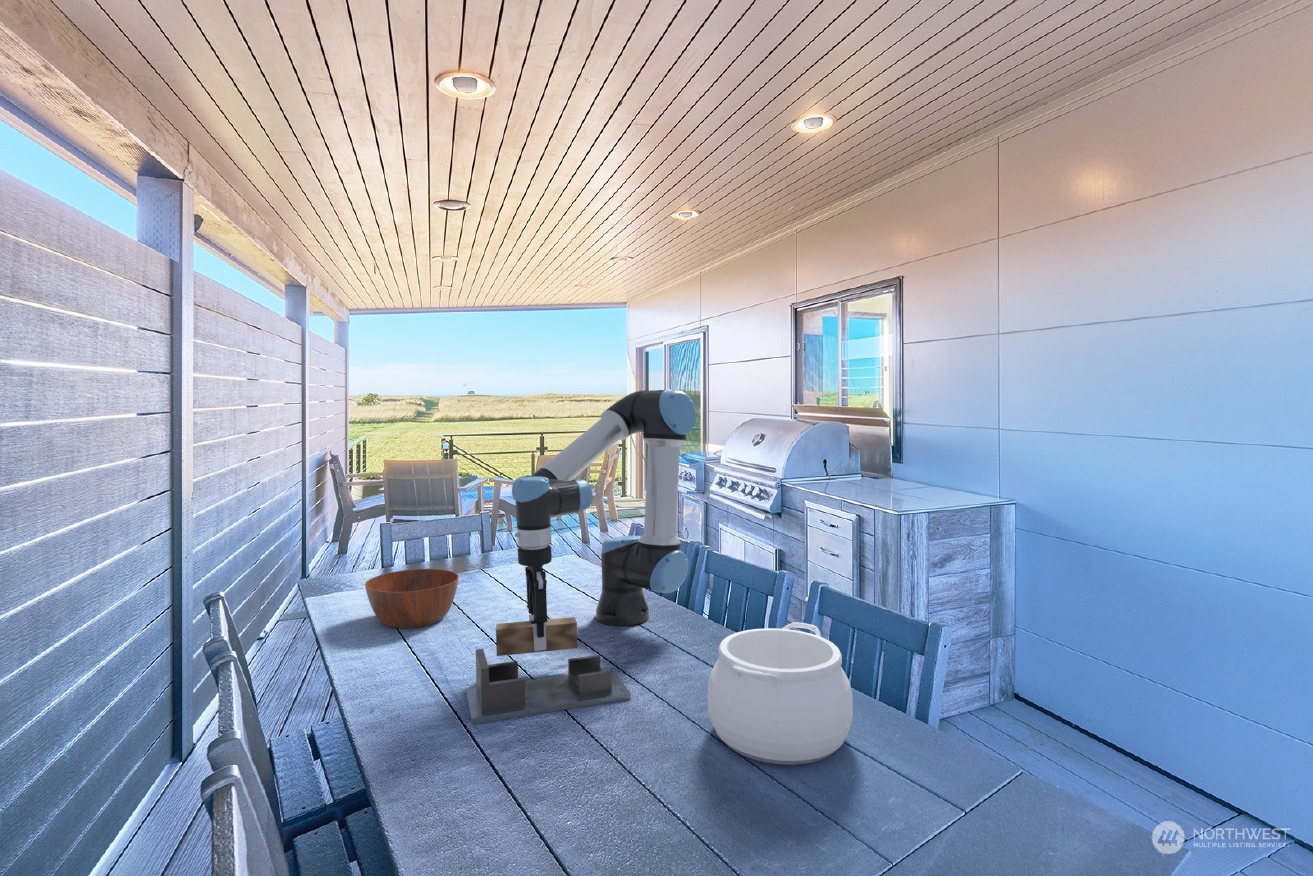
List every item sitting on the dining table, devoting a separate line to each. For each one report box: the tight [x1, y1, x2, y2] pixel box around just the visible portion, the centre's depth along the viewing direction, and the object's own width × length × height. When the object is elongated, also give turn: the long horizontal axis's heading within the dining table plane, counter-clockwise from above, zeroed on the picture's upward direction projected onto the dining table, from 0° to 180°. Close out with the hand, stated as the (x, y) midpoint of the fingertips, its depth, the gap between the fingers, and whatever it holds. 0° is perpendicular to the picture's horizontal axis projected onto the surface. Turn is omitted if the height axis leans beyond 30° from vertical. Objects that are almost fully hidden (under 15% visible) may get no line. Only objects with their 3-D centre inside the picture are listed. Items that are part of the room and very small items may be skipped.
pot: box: [706, 621, 854, 766], centre depth 125 cm, size 29×26×17 cm
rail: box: [495, 616, 578, 657], centre depth 155 cm, size 18×4×6 cm, turn 102°
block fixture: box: [465, 648, 632, 725], centre depth 142 cm, size 32×14×10 cm, turn 110°
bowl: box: [364, 568, 460, 629], centre depth 192 cm, size 25×25×11 cm
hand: (538, 645), depth 156 cm, fingers closed on rail, 4 cm apart
